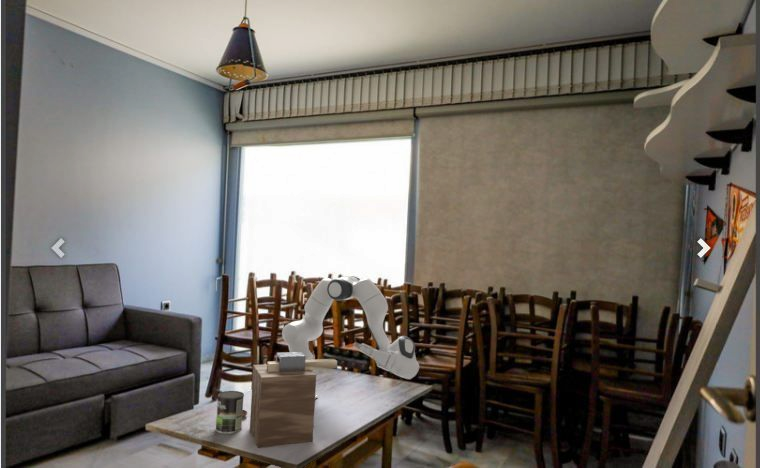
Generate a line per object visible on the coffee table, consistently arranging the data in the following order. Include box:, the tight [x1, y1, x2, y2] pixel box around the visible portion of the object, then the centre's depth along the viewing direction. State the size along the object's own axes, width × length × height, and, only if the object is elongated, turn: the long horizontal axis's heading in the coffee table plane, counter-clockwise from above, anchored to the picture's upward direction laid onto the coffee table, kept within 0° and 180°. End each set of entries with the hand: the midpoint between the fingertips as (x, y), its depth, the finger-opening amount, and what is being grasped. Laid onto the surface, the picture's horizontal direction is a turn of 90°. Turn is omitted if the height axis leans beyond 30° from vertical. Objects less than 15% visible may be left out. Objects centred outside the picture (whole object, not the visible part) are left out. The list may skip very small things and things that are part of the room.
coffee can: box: [215, 390, 245, 435], centre depth 201 cm, size 10×10×14 cm
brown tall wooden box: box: [249, 363, 317, 449], centre depth 198 cm, size 20×21×26 cm
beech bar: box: [266, 358, 338, 372], centre depth 201 cm, size 4×28×3 cm, turn 113°
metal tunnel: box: [275, 351, 306, 372], centre depth 199 cm, size 8×10×6 cm
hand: (357, 345), depth 211 cm, fingers open, 8 cm apart
